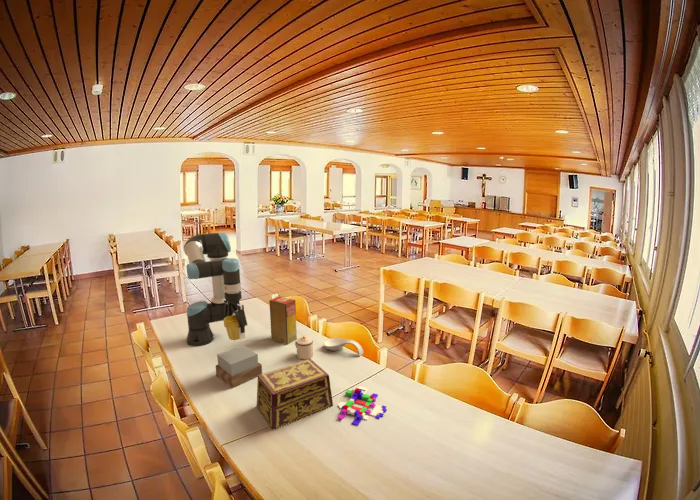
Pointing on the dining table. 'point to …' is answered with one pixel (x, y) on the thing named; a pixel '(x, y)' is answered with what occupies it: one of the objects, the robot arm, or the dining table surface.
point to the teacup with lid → (304, 348)
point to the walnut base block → (238, 375)
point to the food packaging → (283, 320)
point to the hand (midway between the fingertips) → (236, 335)
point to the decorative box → (293, 393)
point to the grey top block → (237, 360)
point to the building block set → (360, 412)
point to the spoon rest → (342, 344)
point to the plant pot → (232, 327)
